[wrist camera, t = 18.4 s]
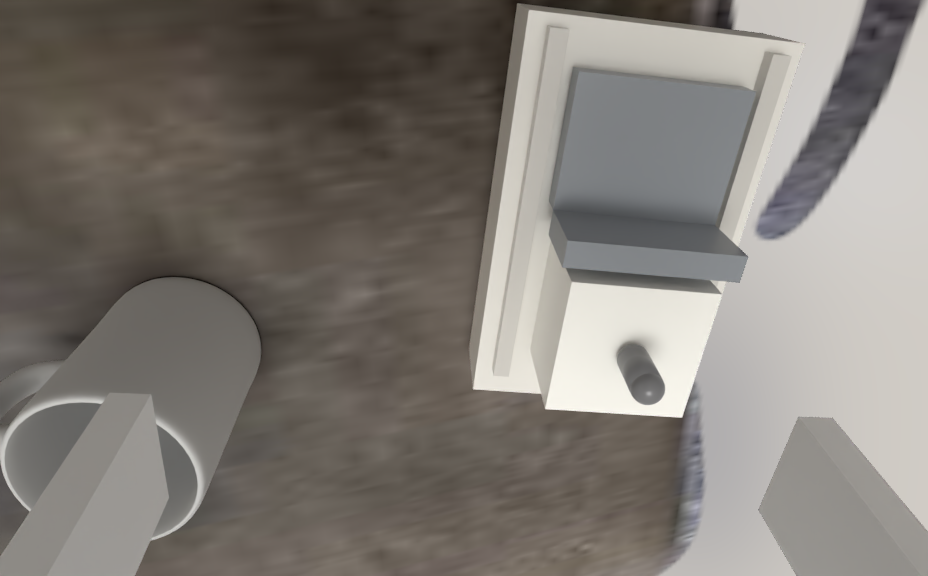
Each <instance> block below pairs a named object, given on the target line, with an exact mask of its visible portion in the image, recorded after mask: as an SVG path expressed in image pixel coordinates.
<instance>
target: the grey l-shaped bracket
mask: <svg viewBox="0 0 928 576" xmlns="http://www.w3.org/2000/svg"><path fill="white" fill-rule="evenodd" d="M755 95H756V91H753V90H751V89H749V88H746V87H743V86H735V85H726V84H717V83H708V82H700V81H691V80H682V79H674V78H665V77H656V76H648V75H639V74H630V73H622V72H613V71H604V70H596V69H587V68H578V67H573V71H572V76H571V82H570V87H569V93H568V98H567V104H566V109H565V115H564V120H563V126H562V131H561V136H560V142H559V147H558V153H557V158H556V164H555V169H554V175H553V180H552V186H551V191H550V197H549V203H550V205H551V207H552V209H553V213H552V219H551V224H550V229H549V237H550V240H551V242H552V244H553V247H554V249H555V251H556V254H557V256H558V258H559V261H560V263H561V265H562V268H573V269H585V270H597V271H608V272H620V273H632V274H643V275H655V276H667V277H679V278H690V279H702V280H714V281H726V282H738V283H739V282H740V280H741V277H742V274H743V271H744V268H745V265H746V262H747V259H748V256H747V255H746V254H745V253H744V252H743V251H742V250H741V249H740V248H739V247H738V246H737V245H735V244H734V243H733V242H732V241H731V240H730V239H729V238H728V237H727V236H726V235H725V234H724V233H723V232H722V231H721V230H720V229H719V228H718V227H717V226H715V224H716V221H717V218H718V214H719V211H720V208H721V205H722V202H723V198H724V195H725V192H726V189H727V185H728V182H729V179H730V176H731V172H732V169H733V166H734V163H735V159H736V156H737V153H738V150H739V146H740V143H741V140H742V137H743V133H744V130H745V127H746V124H747V121H748V117H749V114H750V111H751V108H752V104H753V101H754V98H755Z"/></svg>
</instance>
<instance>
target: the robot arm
mask: <svg viewBox="0 0 928 576" xmlns="http://www.w3.org/2000/svg"><path fill="white" fill-rule="evenodd" d="M168 499H169V494H168V488H167V483H166V477H165V471H164V465H163V460H162V454H161V448H160V442H159V436H158V431H157V425H156V419H155V413H154V407H153V402H152V396H151V394H134V393H109V394H108V396H107V397H106V399H105V400H104V402H103V403H102V405H101V406H100V408H99V409H98V411H97V412H96V414H95V415H94V417H93V418H92V420H91V421H90V423H89V424H88V426H87V427H86V429H85V430H84V432H83V433H82V435H81V436H80V438H79V439H78V441H77V442H76V444H75V445H74V447H73V448H72V450H71V451H70V453H69V454H68V456H67V457H66V459H65V460H64V462H63V463H62V465H61V466H60V468H59V469H58V471H57V472H56V474H55V475H54V477H53V478H52V480H51V481H50V483H49V484H48V486H47V487H46V489H45V490H44V492H43V493H42V495H41V496H40V498H39V499H38V501H37V502H36V504H35V505H34V507H33V508H32V510H31V511H30V513H29V514H28V516H27V517H26V519H25V520H24V522H23V523H22V525H21V526H20V528H19V529H18V531H17V532H16V534H15V535H14V537H13V538H12V540H11V541H10V543H9V544H8V546H7V547H6V549H5V550H4V552H3V553H2V555H1V556H0V576H135V574H136V572H137V570H138V567H139V565H140V563H141V560H142V558H143V556H144V554H145V551H146V549H147V547H148V545H149V542H150V540H151V538H152V535H153V533H154V531H155V529H156V526H157V524H158V522H159V520H160V517H161V515H162V513H163V510H164V508H165V506H166V504H167V501H168ZM758 510H759V512H760V514H761V515H762V517H763V519H764V520H765V522H766V524H767V526H768V527H769V529H770V530H771V533H772V534H773V536H774V538H775V539H776V541H777V543H778V545H779V546H780V548H781V550H782V552H783V553H784V555H785V557H786V558H787V560H788V562H789V564H790V565H791V567H792V569H793V571H794V572H795V574H796V576H928V531H927V530H926V529H925V528H924V526H923V525H922V524H921V523H920V522H919V521H918V519H917V518H916V517H915V516H914V515H913V513H912V512H911V511H910V510H909V509H908V507H907V506H906V505H905V504H904V503H903V501H902V500H901V499H900V498H899V497H898V495H897V494H896V493H895V492H894V491H893V490H892V488H891V487H890V486H889V485H888V484H887V482H886V481H885V480H884V479H883V478H882V476H881V475H880V474H879V473H878V472H877V470H876V469H875V468H874V467H873V466H872V464H871V463H870V462H869V461H868V460H867V458H866V457H865V456H864V455H863V454H862V452H861V451H860V450H859V449H858V448H857V446H856V445H855V444H854V443H853V442H852V441H851V440H850V438H849V437H848V436H847V435H846V433H845V432H844V431H843V430H842V429H841V427H840V426H839V425H838V424H837V423H836V421H835V420H834V419H833V418H819V417H798V419H797V421H796V424H795V426H794V428H793V431H792V433H791V435H790V438H789V440H788V442H787V444H786V447H785V449H784V451H783V454H782V456H781V458H780V461H779V463H778V465H777V468H776V470H775V472H774V475H773V477H772V479H771V482H770V484H769V486H768V489H767V491H766V493H765V495H764V498H763V500H762V502H761V505H760V507H759V509H758Z"/></svg>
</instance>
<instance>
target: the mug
mask: <svg viewBox="0 0 928 576" xmlns="http://www.w3.org/2000/svg"><path fill="white" fill-rule="evenodd" d="M260 359H261V342H260V337H259V333H258V330H257V327H256V325H255V323H254V321H253V320H252V318H251V316H250V315H249V314H248V312H247V311H246V310H245V309H244V308H243V306H242V305H241V304H240V303H239V302H237V301H236V300H235V299H234V298H233V297H232V296H230V295H229V294H227V293H226V292H224V291H222V290H221V289H219V288H217V287H215V286H213V285H210V284H208V283H205V282H202V281H199V280H195V279H190V278H182V277H164V278H158V279H153V280H150V281H147V282H144V283H142V284H140V285H138V286H136V287H134V288H132V289H131V290H129V291H128V292H126V293H125V294H124V295H123V296H122V297H121V298H120V299H119V300H118V301H117V302H116V303H115V304H114V305H113V306H112V308H111V309H110V310H109V311H108V313H107V314H106V315H105V316H104V318H103V319H102V320H101V321H100V322H99V323H98V325H97V326H96V327H95V328H94V329H93V330H92V331H91V333H90V334H89V335H88V336H87V337H86V338H85V339H84V340H83V342H82V343H81V344H80V345H79V346H78V347H77V348H76V349H75V351H74V352H73V353H72V354H71V355H70V356H69V357H68V358H67V360H54V361H45V362H39V363H35V364H32V365H29V366H26V367H24V368H22V369H20V370H18V371H16V372H14V373H13V374H11V375H10V376H8V377H7V378H5V379H4V380H2V381H1V382H0V420H1V418H2V417H3V416H4V415H5V414H6V413H7V412H8V411H9V410H10V409H11V408H12V407H13V406H14V405H16V404H17V403H18V402H20V401H21V400H23V399H24V398H26V397H28V396H29V395H31V394H33V393H36V392H37V393H36V394H35V395H34V397H33V398H32V399H31V400H30V401H29V402H28V403H27V404H26V406H25V407H24V408H23V409H22V410H21V411H20V413H19V414H18V415H17V416H16V418H15V419H14V420H13V421H12V423H11V424H0V461H1V468H2V471H3V475H4V478H5V480H6V482H7V484H8V486H9V488H10V489H11V491H12V492H13V494H14V495H15V497H16V498H17V499H18V500H19V501H20V503H21V504H22V505H23V506H24V507H25V508H26V509H28V510H29V511H31V510H32V508H33V507H34V505H35V504H36V502H37V501H38V499H39V498H40V496H41V495H42V493H43V492H44V490H45V489H46V487H47V486H48V484H49V483H50V481H51V480H52V478H53V477H54V475H55V474H56V472H57V471H58V469H59V468H60V466H61V465H62V463H63V462H64V460H65V459H66V457H67V456H68V454H69V453H70V451H71V450H72V448H73V447H74V445H75V444H76V442H77V441H78V439H79V438H80V436H81V435H82V433H83V432H84V430H85V429H86V427H87V426H88V424H89V423H90V421H91V420H92V418H93V417H94V415H95V414H96V412H97V411H98V409H99V408H100V406H101V405H102V403H103V402H104V400H105V399H106V397H107V396H108V394H109V393H134V394H151V396H152V402H153V407H154V413H155V419H156V425H157V431H158V436H159V442H160V448H161V454H162V460H163V465H164V471H165V477H166V483H167V488H168V494H169V499H168V501H167V504H166V506H165V508H164V510H163V513H162V515H161V517H160V520H159V522H158V524H157V526H156V529H155V531H154V533H153V535H152V538H151V540H154V539H158V538H160V537H163V536H165V535H168V534H170V533H172V532H173V531H175V530H177V529H178V528H180V527H181V526H183V525H184V524H185V523H186V522H187V521H188V520H189V519H190V518H191V517H192V516H193V515H194V513H195V512H196V511H197V509H198V508H199V506H200V504H201V502H202V500H203V498H204V496H205V494H206V492H207V489H208V487H209V485H210V482H211V480H212V477H213V475H214V472H215V470H216V468H217V465H218V463H219V460H220V458H221V455H222V453H223V451H224V448H225V446H226V443H227V441H228V438H229V436H230V434H231V431H232V429H233V426H234V424H235V422H236V419H237V417H238V414H239V412H240V409H241V407H242V405H243V402H244V400H245V398H246V395H247V393H248V391H249V389H250V386H251V384H252V382H253V380H254V378H255V376H256V373H257V370H258V367H259V364H260ZM151 540H150V541H151Z"/></svg>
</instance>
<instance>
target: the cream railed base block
mask: <svg viewBox="0 0 928 576" xmlns="http://www.w3.org/2000/svg"><path fill="white" fill-rule="evenodd" d="M804 46H805V44H804V43H800V42H796V41H792V40H788V39H784V38H779V37H775V36H771V35H767V34H763V33H754V32H747V31H739V30H730V29H722V28H714V27H706V26H698V25H690V24H682V23H674V22H666V21H658V20H650V19H641V18H633V17H625V16H617V15H609V14H601V13H593V12H585V11H577V10H569V9H561V8H552V7H544V6H536V5H528V4H520V3H517V8H516V15H515V22H514V30H513V37H512V44H511V51H510V58H509V65H508V72H507V80H506V87H505V94H504V101H503V108H502V115H501V123H500V130H499V137H498V144H497V151H496V158H495V166H494V173H493V180H492V187H491V194H490V201H489V209H488V216H487V223H486V230H485V237H484V244H483V252H482V259H481V266H480V273H479V280H478V287H477V295H476V302H475V309H474V316H473V323H472V330H471V337H470V345H469V356H470V365H471V375H472V385H473V389H478V390H493V391H508V392H523V393H538V394H541V391H540V387H539V383H538V379H537V375H536V371H535V367H534V363H533V359H532V355H531V352H530V348H531V342H532V337H533V332H534V326H535V321H536V316H537V310H538V305H539V300H540V294H541V289H542V284H543V278H544V273H545V268H546V262H547V257H548V252H549V246H550V241H551V240H550V237H549V229H550V224H551V219H552V213H553V209H552V207H551V205H550V203H549V197H550V191H551V186H552V180H553V175H554V169H555V164H556V158H557V153H558V147H559V142H560V136H561V131H562V126H563V120H564V115H565V109H566V104H567V98H568V93H569V87H570V82H571V76H572V71H573V67H578V68H587V69H596V70H604V71H613V72H622V73H630V74H639V75H648V76H656V77H665V78H674V79H682V80H691V81H700V82H708V83H717V84H726V85H735V86H743V87H746V88H749V89H751V90H753V91H756V95H755V98H754V101H753V104H752V108H751V111H750V114H749V117H748V121H747V124H746V127H745V130H744V133H743V137H742V140H741V143H740V146H739V150H738V153H737V156H736V159H735V163H734V166H733V169H732V172H731V176H730V179H729V182H728V185H727V189H726V192H725V195H724V198H723V202H722V205H721V208H720V211H719V214H718V218H717V221H716V224H715V226H717V227H718V228H719V229H720V230H721V231H722V232H723V233H724V234H725V235H726V236H727V237H728V238H729V239H730V240H731V241H732V242H733V243H734V244H735V245H737V246H739V243H740V240H741V237H742V234H743V231H744V228H745V224H746V222H747V219H748V216H749V213H750V210H751V206H752V204H753V200H754V198H755V194H756V191H757V188H758V185H759V182H760V179H761V176H762V173H763V170H764V167H765V164H766V161H767V158H768V155H769V152H770V149H771V146H772V143H773V140H774V137H775V134H776V131H777V128H778V125H779V122H780V119H781V116H782V113H783V110H784V107H785V104H786V101H787V97H788V95H789V91H790V89H791V86H792V82H793V80H794V77H795V74H796V70H797V68H798V65H799V62H800V58H801V55H802V52H803V49H804ZM710 281H711V282H712V283H713V284H714V285H715V286H716V288H717V289H718V290H719V291H720V292H721V293H722V294H723V291H724V288H725V285H726V281H714V280H710Z"/></svg>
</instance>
